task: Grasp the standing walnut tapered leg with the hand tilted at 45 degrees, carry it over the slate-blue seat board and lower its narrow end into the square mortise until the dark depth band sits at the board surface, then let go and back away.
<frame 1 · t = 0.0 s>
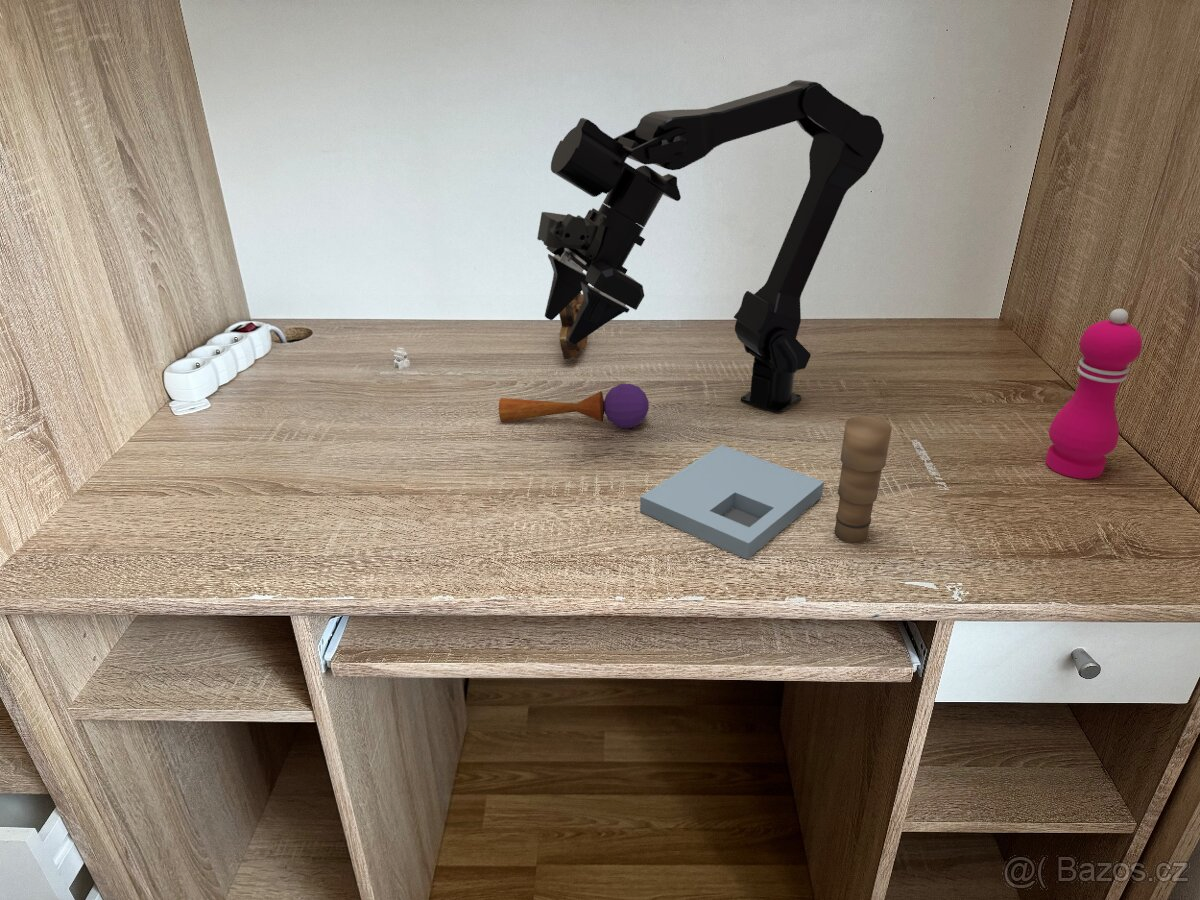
hand: (559, 330, 102), 15 cm above the table, tool tilted 35°, fingers open, 9 cm apart
leg: (850, 534, 88), on the table
wooden carving: (576, 350, 137), on the table
pepper mill: (1072, 468, 101), on the table
white figurine: (394, 371, 131), on the table
kendama: (574, 424, 113), on the table
seat board: (732, 504, 94), on the table
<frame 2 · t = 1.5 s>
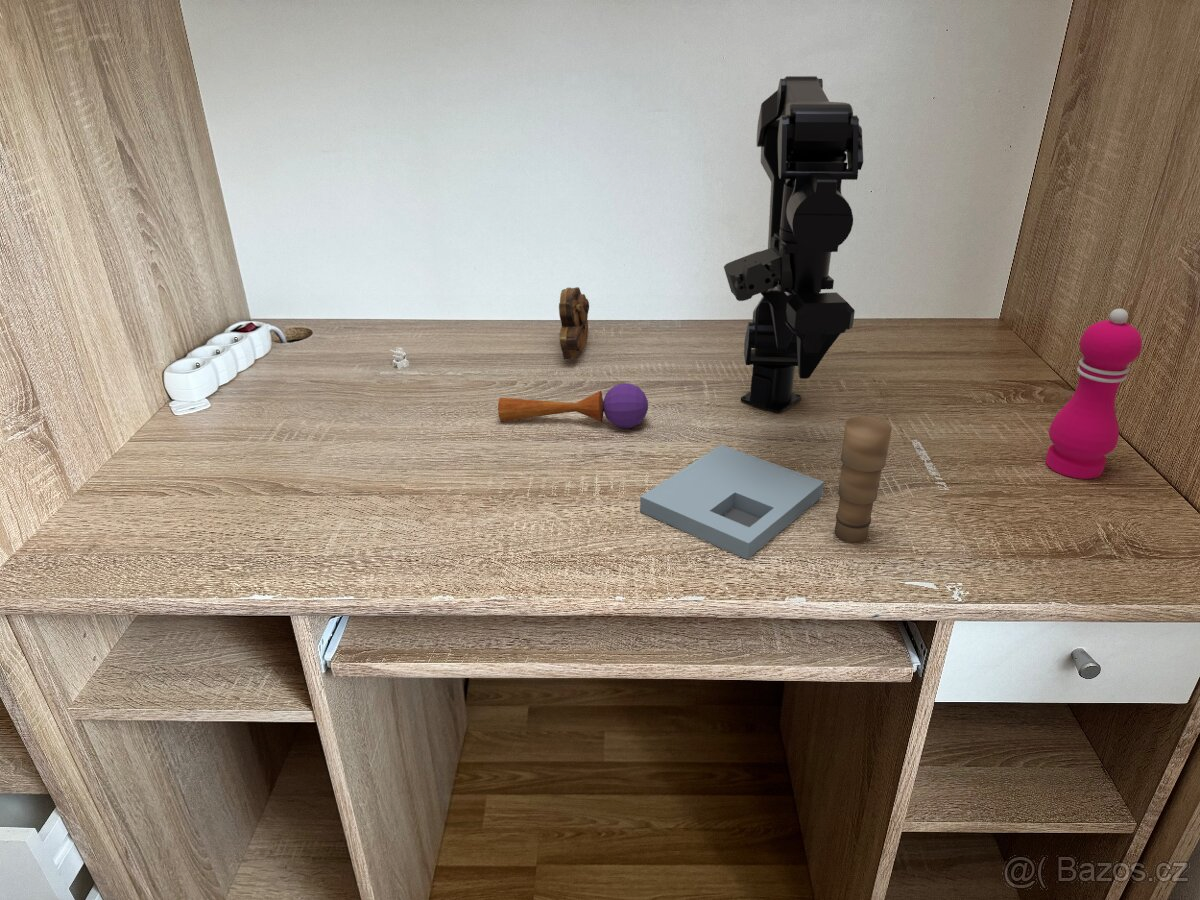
hand: (792, 362, 97), 13 cm above the table, tool pointing down, fingers open, 9 cm apart
nothing on the table moved.
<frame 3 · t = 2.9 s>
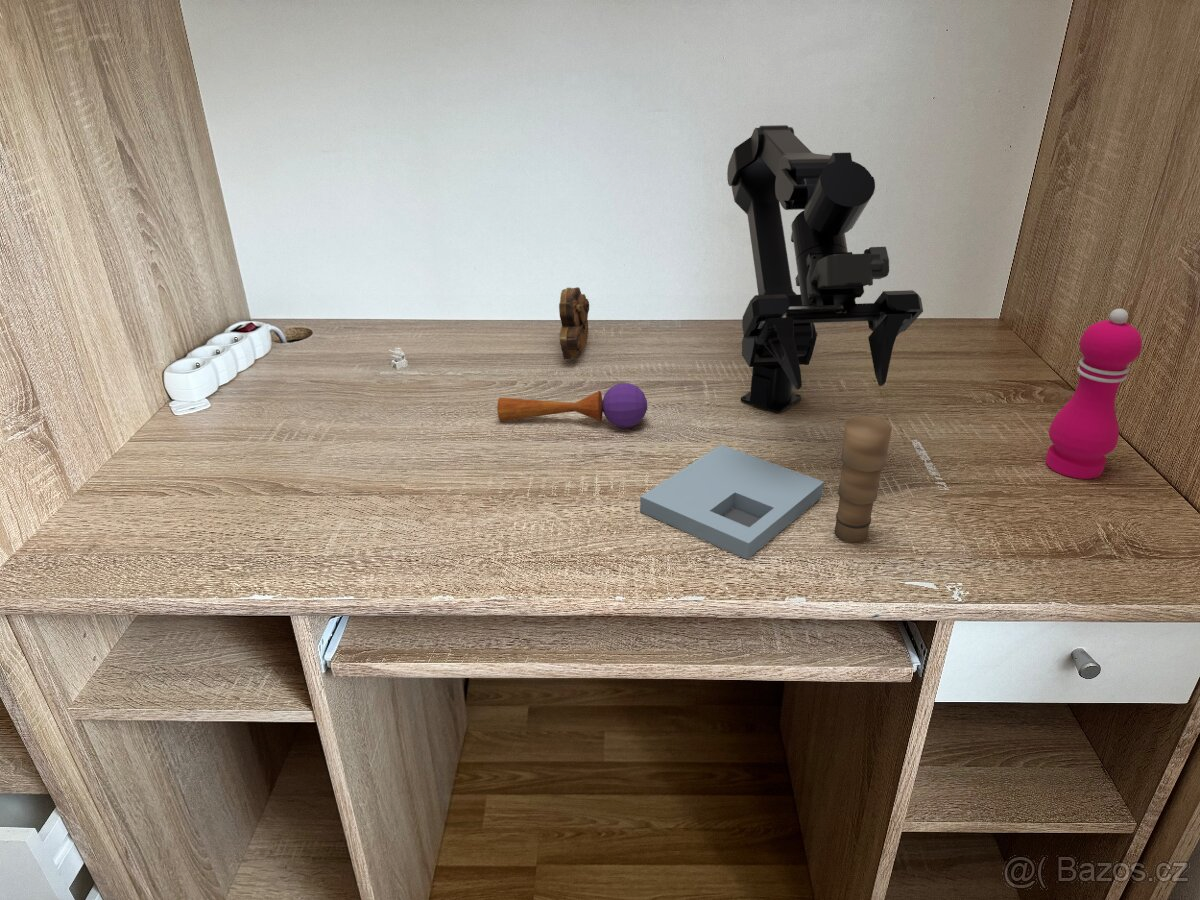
hand: (840, 386, 89), 13 cm above the table, tool tilted 45°, fingers open, 9 cm apart
nothing on the table moved.
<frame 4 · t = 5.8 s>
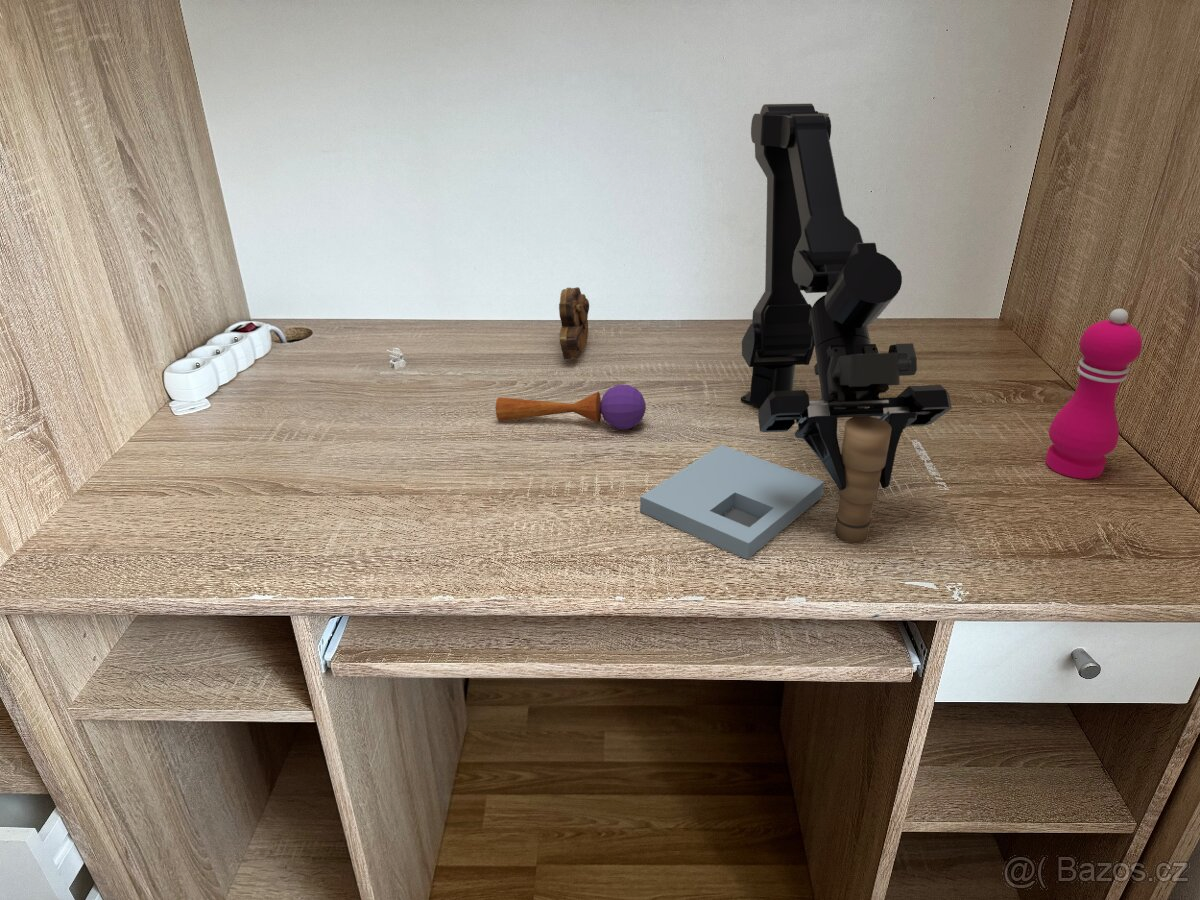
hand: (864, 488, 84), 7 cm above the table, tool tilted 45°, fingers closed on leg, 4 cm apart
leg: (850, 534, 88), on the table, touching gripper
everything else where it was.
when the fingers open (8 cm above the table, at t = 9.3 s): leg stays where it is, resting on seat board.
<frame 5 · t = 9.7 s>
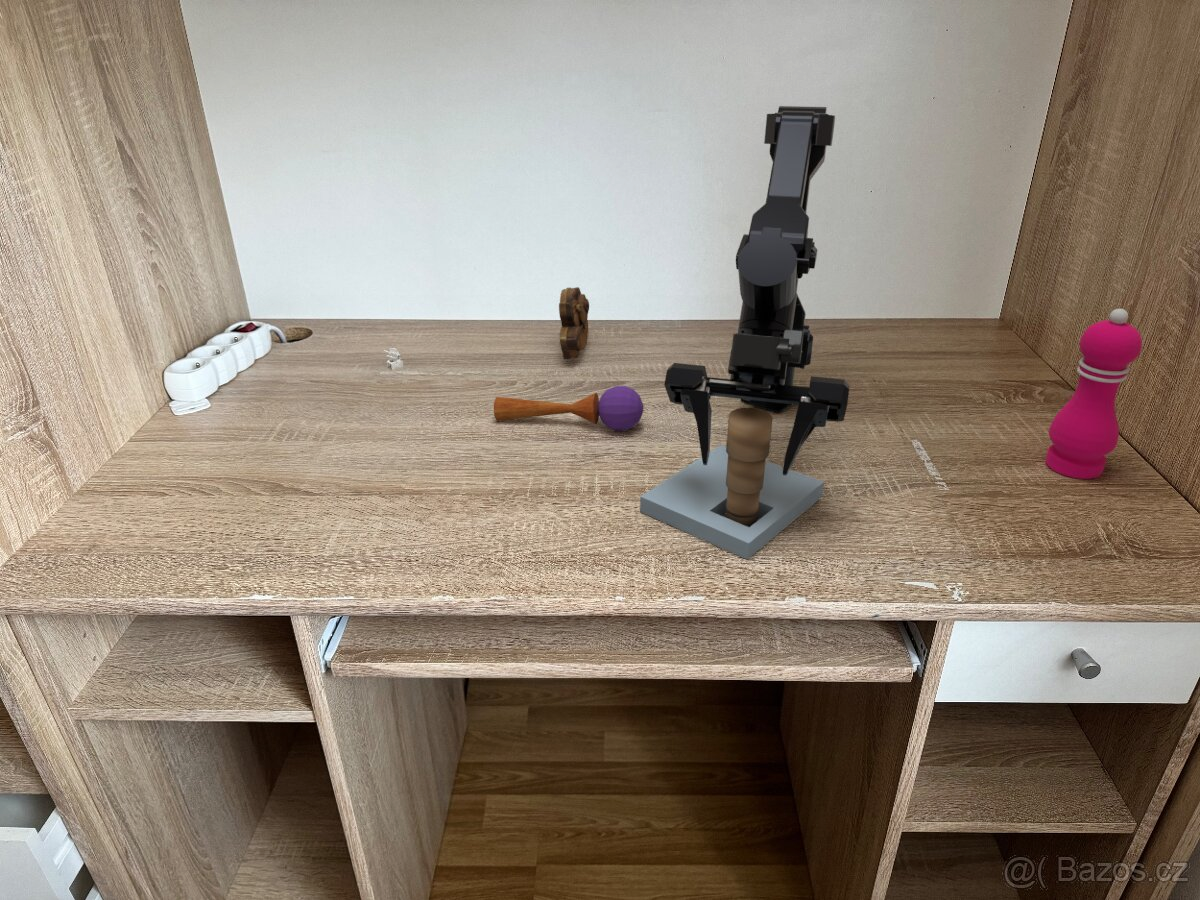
hand: (744, 469, 85), 8 cm above the table, tool tilted 45°, fingers open, 8 cm apart
leg: (740, 523, 90), resting on seat board
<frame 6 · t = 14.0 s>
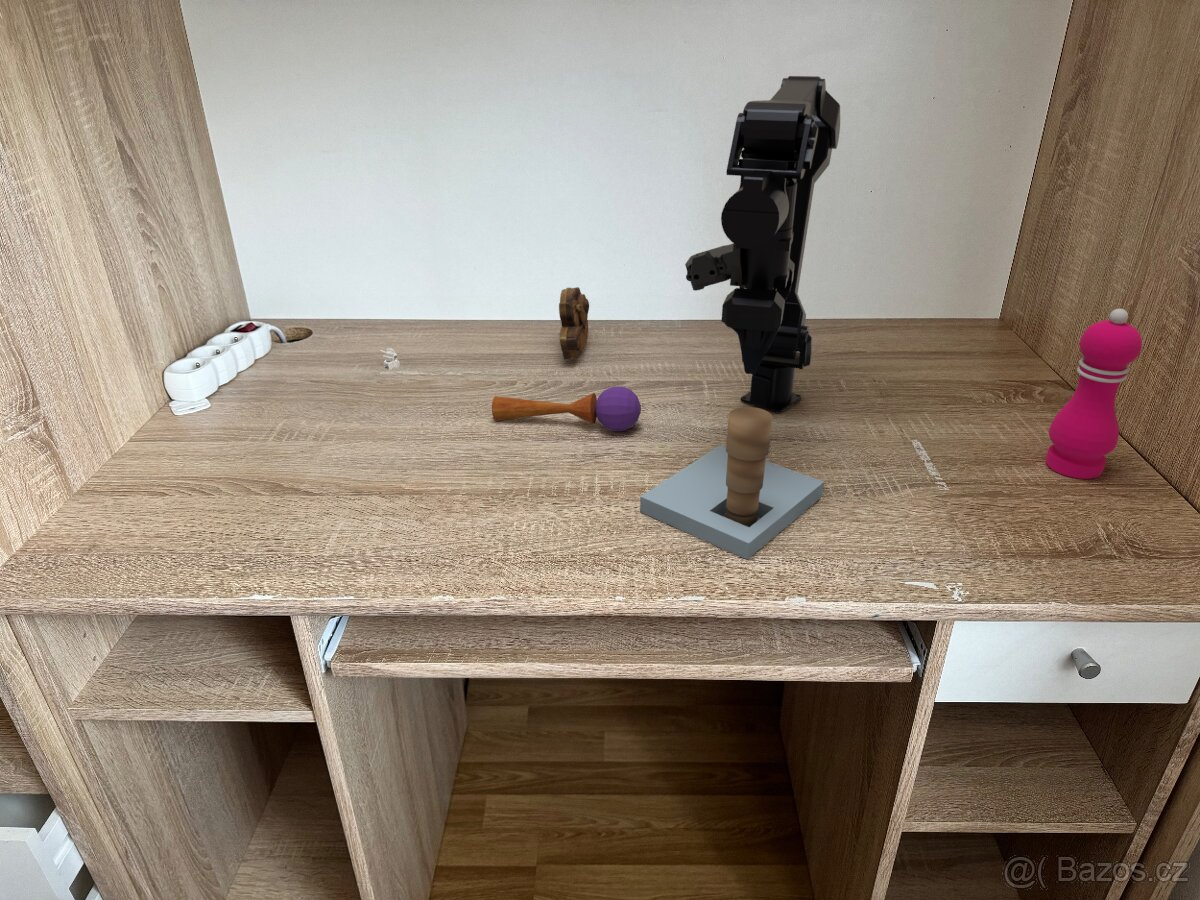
hand: (754, 358, 98), 13 cm above the table, tool pointing down, fingers open, 9 cm apart
at the end: leg 0.0 cm from the target spot on the seat board, point 0.1 cm above the seat board's base; leg tilted 1°; the gripper is holding nothing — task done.
